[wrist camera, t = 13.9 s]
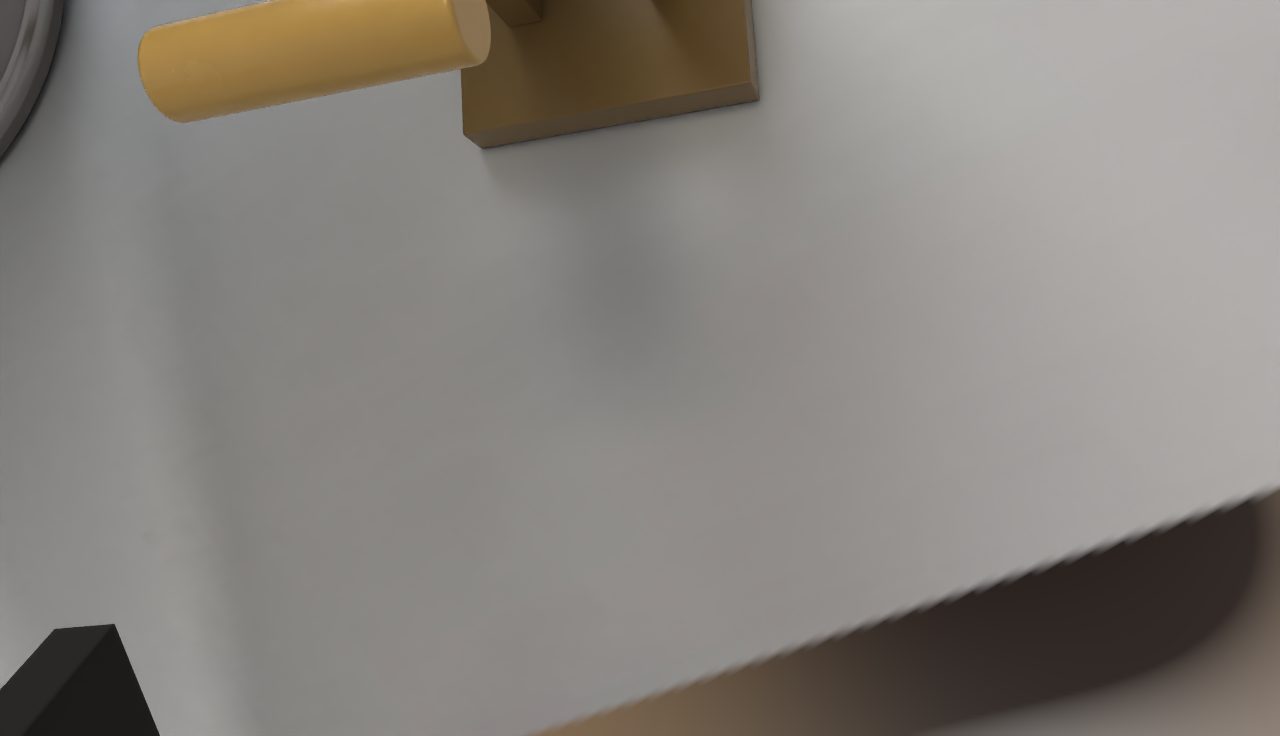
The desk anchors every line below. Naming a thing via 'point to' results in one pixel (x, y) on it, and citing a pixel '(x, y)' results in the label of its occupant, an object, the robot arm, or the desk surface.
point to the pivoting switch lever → (304, 51)
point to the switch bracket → (605, 65)
